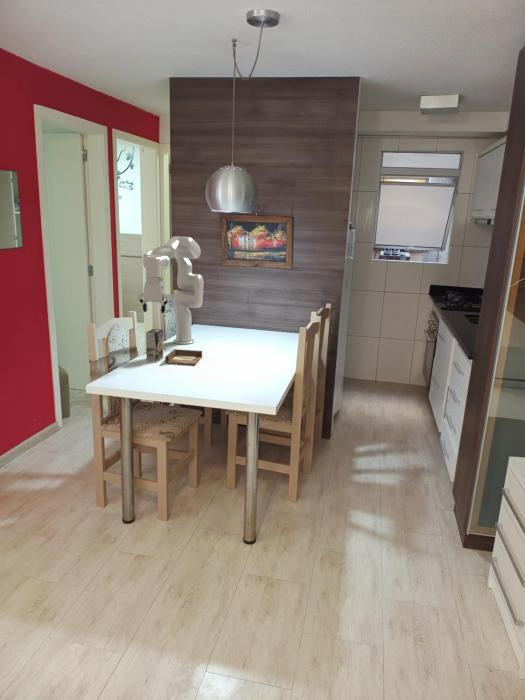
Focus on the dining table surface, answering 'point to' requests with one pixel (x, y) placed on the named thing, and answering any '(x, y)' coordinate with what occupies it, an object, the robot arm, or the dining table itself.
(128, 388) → the dining table surface
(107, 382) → the dining table surface
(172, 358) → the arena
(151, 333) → the coffee box
